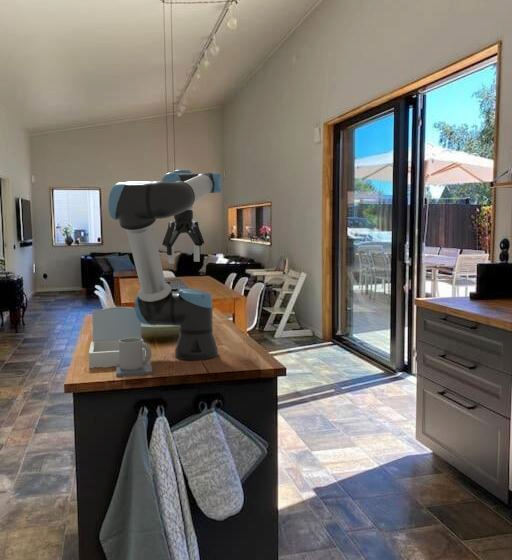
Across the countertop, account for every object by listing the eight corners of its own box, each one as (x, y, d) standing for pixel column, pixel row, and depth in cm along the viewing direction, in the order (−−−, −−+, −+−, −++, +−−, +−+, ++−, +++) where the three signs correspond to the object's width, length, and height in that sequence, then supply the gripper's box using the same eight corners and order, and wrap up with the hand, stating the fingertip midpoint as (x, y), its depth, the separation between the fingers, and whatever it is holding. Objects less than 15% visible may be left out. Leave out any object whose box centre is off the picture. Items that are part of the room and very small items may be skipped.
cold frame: (145, 364, 187) (144, 318, 186) (89, 368, 183) (87, 320, 181) (142, 349, 210) (141, 307, 208) (92, 352, 205) (90, 309, 204)
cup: (120, 365, 183) (119, 338, 182) (151, 363, 184) (151, 337, 183) (118, 371, 176) (117, 343, 175) (151, 369, 177) (150, 341, 176)
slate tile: (152, 374, 176) (152, 371, 175) (116, 376, 173) (116, 373, 173) (150, 365, 186) (150, 362, 186) (116, 367, 184) (116, 364, 183)
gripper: (199, 209, 236) (200, 260, 239) (152, 209, 218) (153, 264, 220) (212, 209, 231) (213, 261, 234) (165, 209, 213) (166, 264, 215)
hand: (184, 262), depth 227 cm, fingers open, 13 cm apart
